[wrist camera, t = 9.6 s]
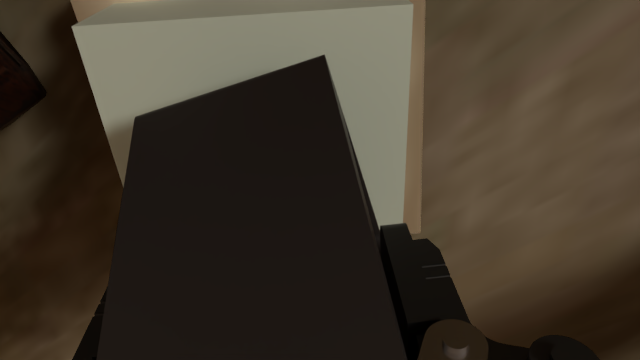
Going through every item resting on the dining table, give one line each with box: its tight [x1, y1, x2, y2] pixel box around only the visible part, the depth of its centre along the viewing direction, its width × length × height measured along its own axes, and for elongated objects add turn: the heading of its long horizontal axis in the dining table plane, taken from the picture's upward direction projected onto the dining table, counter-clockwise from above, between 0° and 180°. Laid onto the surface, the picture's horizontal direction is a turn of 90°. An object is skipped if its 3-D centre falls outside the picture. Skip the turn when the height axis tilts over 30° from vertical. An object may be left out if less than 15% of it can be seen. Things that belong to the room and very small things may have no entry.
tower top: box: [72, 0, 413, 230], centre depth 19 cm, size 11×11×4 cm
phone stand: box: [96, 54, 407, 360], centre depth 11 cm, size 9×6×12 cm, turn 17°
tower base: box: [70, 0, 425, 234], centre depth 23 cm, size 14×14×5 cm
